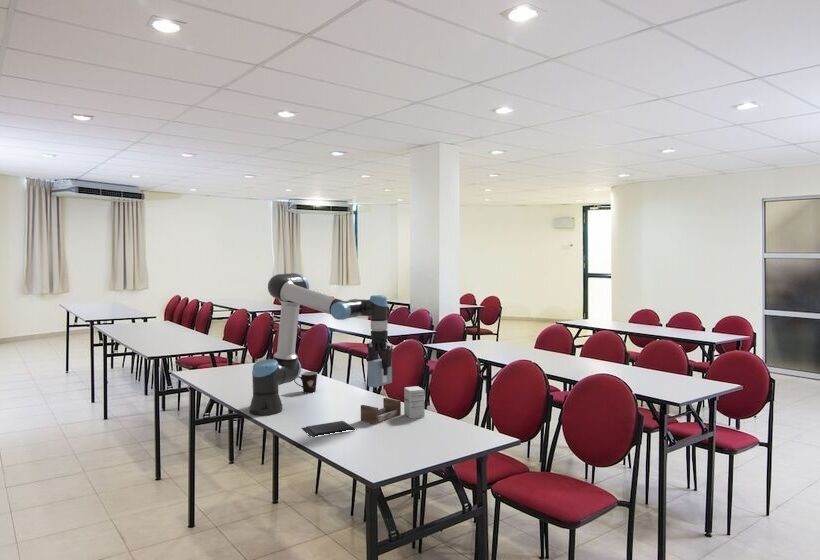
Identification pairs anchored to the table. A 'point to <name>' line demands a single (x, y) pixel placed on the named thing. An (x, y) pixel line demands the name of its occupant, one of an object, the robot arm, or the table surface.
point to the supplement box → (414, 402)
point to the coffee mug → (308, 381)
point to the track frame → (381, 411)
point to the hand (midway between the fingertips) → (380, 381)
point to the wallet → (327, 428)
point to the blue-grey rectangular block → (377, 373)
